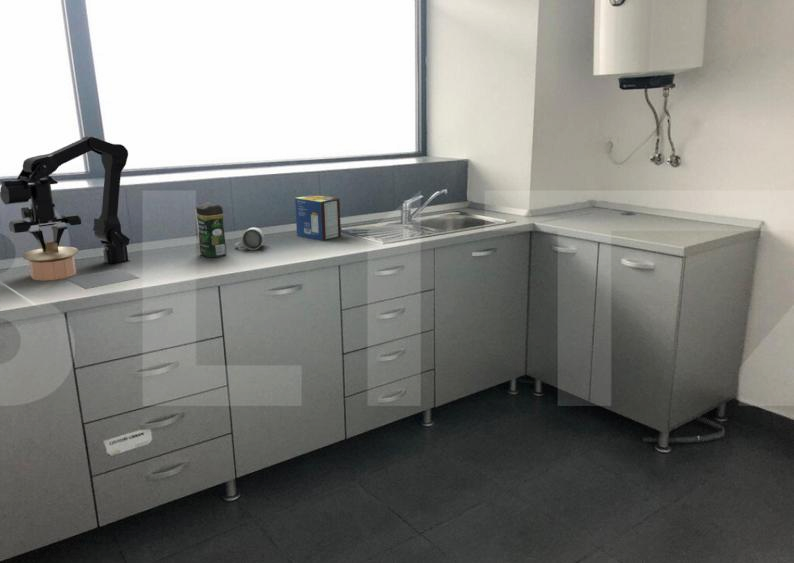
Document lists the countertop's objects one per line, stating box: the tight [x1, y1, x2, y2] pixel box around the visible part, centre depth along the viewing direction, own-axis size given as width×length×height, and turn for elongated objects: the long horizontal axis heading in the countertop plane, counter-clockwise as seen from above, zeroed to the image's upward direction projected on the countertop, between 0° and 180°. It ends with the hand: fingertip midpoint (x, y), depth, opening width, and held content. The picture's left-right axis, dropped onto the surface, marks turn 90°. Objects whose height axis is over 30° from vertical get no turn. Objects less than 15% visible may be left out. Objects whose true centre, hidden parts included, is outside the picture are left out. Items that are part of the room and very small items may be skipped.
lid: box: [22, 240, 79, 261], centre depth 195 cm, size 15×15×4 cm
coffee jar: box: [195, 201, 227, 258], centre depth 221 cm, size 10×8×19 cm
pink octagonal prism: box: [28, 255, 77, 282], centre depth 196 cm, size 12×12×6 cm
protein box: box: [294, 194, 342, 241], centre depth 251 cm, size 10×15×16 cm
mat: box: [65, 268, 140, 290], centre depth 193 cm, size 16×16×1 cm
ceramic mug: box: [234, 226, 265, 251], centre depth 233 cm, size 11×8×8 cm
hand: (50, 250), depth 195 cm, fingers closed on lid, 3 cm apart
